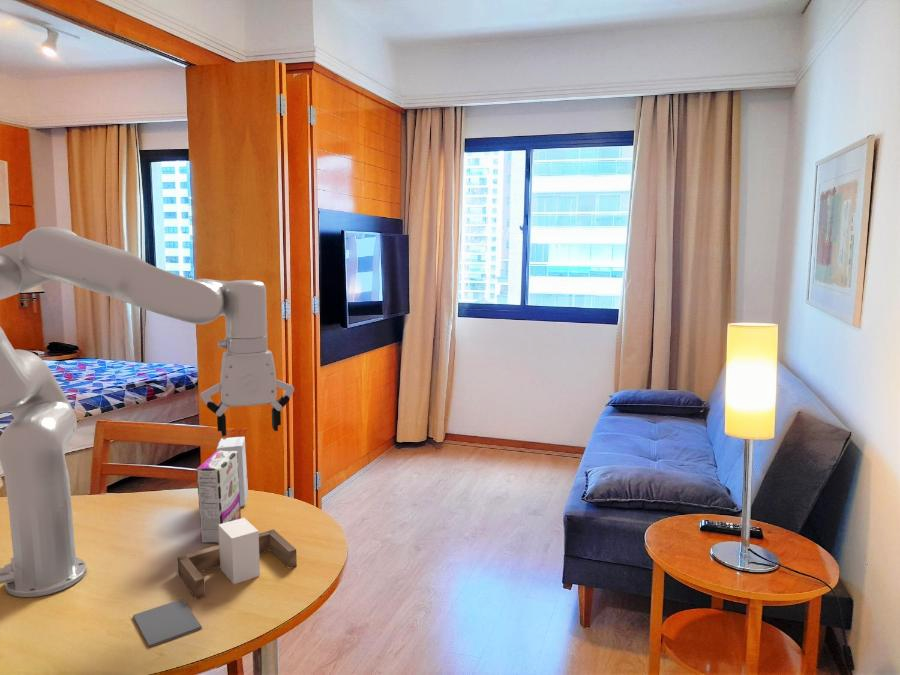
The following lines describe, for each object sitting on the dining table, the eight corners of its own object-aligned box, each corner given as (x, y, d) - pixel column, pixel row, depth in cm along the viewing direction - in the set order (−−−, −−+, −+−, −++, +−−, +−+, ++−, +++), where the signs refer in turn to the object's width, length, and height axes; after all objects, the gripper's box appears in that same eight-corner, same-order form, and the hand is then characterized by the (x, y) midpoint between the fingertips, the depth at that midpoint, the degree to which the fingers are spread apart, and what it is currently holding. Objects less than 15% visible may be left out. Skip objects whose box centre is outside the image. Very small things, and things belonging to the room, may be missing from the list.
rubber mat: (149, 647, 100) (149, 645, 100) (133, 617, 107) (133, 614, 107) (201, 628, 105) (201, 626, 105) (182, 600, 112) (182, 598, 112)
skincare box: (245, 507, 150) (243, 446, 148) (218, 509, 149) (215, 447, 147) (248, 493, 159) (246, 435, 156) (222, 494, 157) (220, 436, 155)
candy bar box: (219, 519, 144) (216, 449, 141) (241, 520, 144) (239, 450, 141) (199, 543, 133) (195, 468, 130) (223, 544, 133) (220, 468, 130)
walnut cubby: (196, 599, 113) (195, 580, 112) (178, 574, 121) (177, 556, 120) (296, 566, 125) (296, 549, 124) (274, 545, 133) (273, 529, 132)
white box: (233, 584, 118) (231, 538, 116) (220, 568, 123) (218, 524, 122) (259, 575, 121) (258, 530, 120) (245, 560, 126) (244, 517, 125)
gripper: (199, 351, 116) (203, 442, 119) (296, 346, 123) (298, 432, 125) (197, 344, 123) (201, 430, 125) (289, 340, 129) (291, 422, 132)
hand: (249, 431), depth 125 cm, fingers open, 9 cm apart
